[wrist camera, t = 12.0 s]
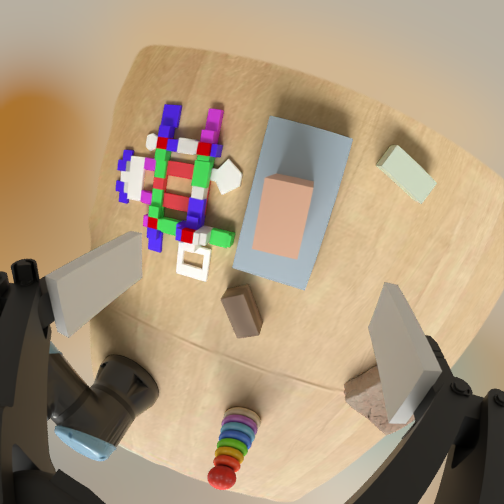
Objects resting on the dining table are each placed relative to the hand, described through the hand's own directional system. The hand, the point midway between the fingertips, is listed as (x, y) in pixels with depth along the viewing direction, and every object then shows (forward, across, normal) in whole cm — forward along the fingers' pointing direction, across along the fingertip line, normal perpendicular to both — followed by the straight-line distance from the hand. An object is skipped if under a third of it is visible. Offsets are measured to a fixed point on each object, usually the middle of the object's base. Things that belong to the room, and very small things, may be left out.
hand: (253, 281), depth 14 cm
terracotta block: (+21, 0, 0) cm, 21 cm away
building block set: (+25, -17, -1) cm, 30 cm away
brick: (+25, +25, -31) cm, 47 cm away
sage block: (+25, +14, +7) cm, 29 cm away
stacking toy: (+25, -1, -45) cm, 51 cm away
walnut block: (+25, -4, -17) cm, 30 cm away
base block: (+25, 0, 0) cm, 25 cm away
